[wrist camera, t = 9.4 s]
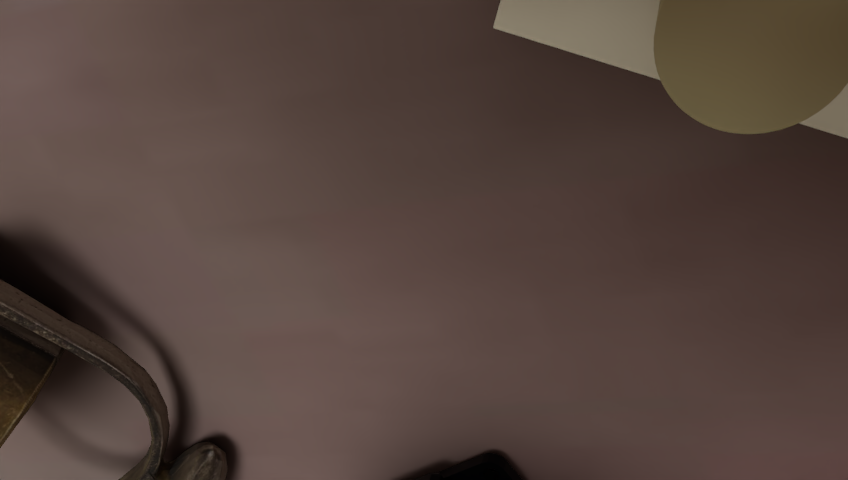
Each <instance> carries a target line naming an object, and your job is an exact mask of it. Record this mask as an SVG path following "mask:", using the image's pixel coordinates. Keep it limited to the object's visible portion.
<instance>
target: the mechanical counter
mask: <svg viewBox="0 0 848 480" xmlns="http://www.w3.org/2000/svg"><path fill="white" fill-rule="evenodd" d="M65 349H66V350H68V351H70V352H72V353H74V354H75V355H77V356H79V357H80V358H82V359H84V360H86V361H87V362H89V363H91V364H93V365H94V366H96V367H98V368H100V369H102V370H104V371H105V372H107V373H109V374H110V375H111V376H113V377H114V378H116V379H117V380H118V381H120V382H121V383H122V384H124V385H125V386H126V387H127V388H128V389H129V390H130V392H131V393H132V394H133V395H134V396H135V397H136V398H137V399H138V400H139V401H140V403H141V405H142V407H143V409H144V411H145V413H146V415H147V417H148V419H149V425H150V431H151V437H152V441H151V446H150V448H149V451H148V453H147V455H146V456H145V457H144V458H143V459H142V460H141V461H140V462H139V463H138V464H137V465H136V466H135V467H134V468H133V469H131V470H130V471H129V472H128V473H126V474H125V475H124V476H123V477H122V478H120V479H119V480H225V478H226V474H227V470H228V468H227V461H226V453H225V452H224V451H223V450H221V449H220V448H219V447H217V446H216V445H214V444H213V443H211V442H201V443H197V444H195V445H194V446H192V447H191V448H189V449H188V450H186V451H185V452H183V453H182V454H181V455H180V456H179V457H178V458H177V459H175V460H173V461H171V462H167V461H165V460H164V459H163V458H162V457H163V455H164V453H165V450H166V446H167V442H168V438H169V427H170V424H169V420H168V412H167V406H166V404H165V402H164V400H163V398H162V396H161V394H160V392H159V389H158V387H157V385H156V383H155V382H154V381H153V379H152V378H151V376H150V375H149V374H148V373H147V372H146V370H145V369H144V368H143V367H141V366H140V365H139V364H138V363H136V362H135V361H134V360H133V359H131V358H130V357H129V356H128V355H127V354H125V353H124V352H123V351H122V350H120V349H119V348H118V347H117V346H115V345H114V344H112V343H111V342H109V341H107V340H105V339H104V338H102V337H100V336H99V335H97V334H95V333H93V332H92V331H90V330H88V329H87V328H85V327H82V326H80V325H78V324H76V323H74V322H72V321H69V320H67V319H66V318H64V317H63V316H61V315H59V314H58V313H56V312H54V311H53V310H51V309H50V308H48V307H46V306H45V305H43V304H41V303H40V302H38V301H37V300H35V299H33V298H32V297H30V296H28V295H27V294H25V293H23V292H22V291H20V290H18V289H17V288H15V287H13V286H11V285H10V284H8V283H6V282H4V281H2V280H1V279H0V448H1V446H2V445H3V444H4V442H5V441H6V439H7V438H8V437H9V435H10V434H11V433H12V431H13V430H14V428H15V427H16V426H17V424H18V423H19V422H20V420H21V419H22V418H23V416H24V415H25V414H26V412H27V411H28V409H29V408H30V407H31V405H32V404H33V403H34V401H35V399H36V397H37V395H38V393H39V392H40V390H41V388H42V387H43V385H44V384H45V382H46V380H47V379H48V377H49V376H50V374H51V372H52V371H53V369H54V367H55V365H56V363H57V361H58V360H59V358H60V356H61V355H62V353H63V352H64V350H65Z"/></svg>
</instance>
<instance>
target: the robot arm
mask: <svg viewBox="0 0 848 480" xmlns="http://www.w3.org/2000/svg"><path fill="white" fill-rule="evenodd" d="M488 468H491V469H495V470H496V471H497V472H493V471H490V470H489V469H488ZM415 480H522V479H521V477H520V476H519V475H518V474H517V473H516V471H515V470H514V469H513V468H512V466H511V465H510V464H509V463H508V462H507V460H505V459H504V458H503V457H502V456H500V455H498V454H493V453H488V454H483V455H481V456H479V457H476V458H474V459H471V460H469V461H466V462H464V463H461V464H459V465H456V466H454V467H451V468H449V469H446V470H444V471H441V472H439V473H429V474H427V475H425V476H422V477H420V478H417V479H415Z"/></svg>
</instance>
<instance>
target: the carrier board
mask: <svg viewBox="0 0 848 480" xmlns="http://www.w3.org/2000/svg"><path fill="white" fill-rule="evenodd" d="M493 28H494V29H498V30H501V31H504V32H507V33H511V34H514V35H517V36H520V37H523V38H527V39H530V40H533V41H536V42H539V43H543V44H546V45H549V46H552V47H555V48H559V49H562V50H565V51H568V52H571V53H575V54H578V55H581V56H584V57H588V58H591V59H594V60H597V61H600V62H604V63H607V64H610V65H613V66H616V67H620V68H623V69H626V70H629V71H632V72H636V73H639V74H642V75H645V76H649V77H652V78H655V79H658V80H661V83H662V85H663V86H664V88H665V90H666V92H667V93H668V95H669V96H670V97H671V99H672V100H673V101H674V102H675V104H676V105H677V106H678V107H679V108H680V109H682V110H683V111H684V112H685V113H686V114H688V115H689V116H690V117H692V118H693V119H695V120H697V121H698V122H700V123H702V124H704V125H706V126H709V127H711V128H714V129H717V130H721V131H725V132H729V133H737V134H760V133H769V132H773V131H778V130H782V129H785V128H787V127H790V126H793V125H796V124H798V123H799V124H803V125H806V126H809V127H812V128H815V129H819V130H822V131H825V132H828V133H831V134H835V135H838V136H841V137H844V138H847V139H848V0H501V1H500V4H499V8H498V12H497V15H496V19H495V23H494V26H493Z"/></svg>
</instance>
